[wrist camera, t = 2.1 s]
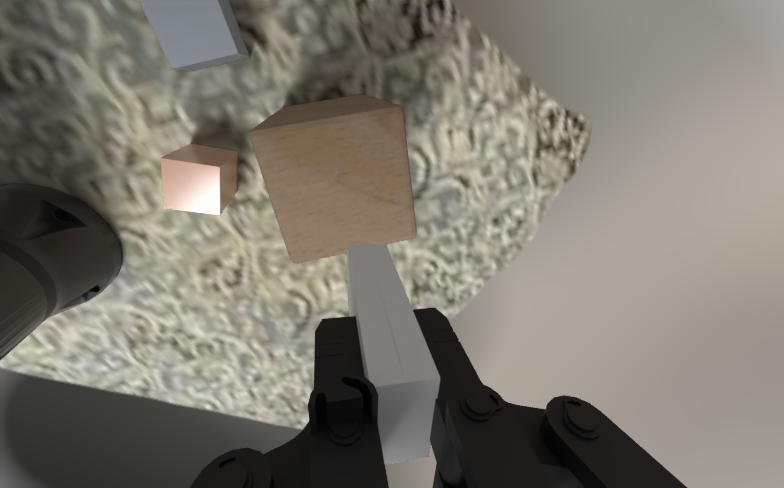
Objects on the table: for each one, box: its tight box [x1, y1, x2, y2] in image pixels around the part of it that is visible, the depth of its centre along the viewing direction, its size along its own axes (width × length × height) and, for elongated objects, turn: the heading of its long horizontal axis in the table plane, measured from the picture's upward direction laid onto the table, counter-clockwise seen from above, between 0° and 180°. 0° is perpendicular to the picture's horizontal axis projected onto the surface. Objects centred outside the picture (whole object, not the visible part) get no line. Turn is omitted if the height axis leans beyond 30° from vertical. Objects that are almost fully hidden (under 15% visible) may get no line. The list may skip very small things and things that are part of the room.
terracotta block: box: [161, 144, 238, 215], centre depth 35 cm, size 5×5×8 cm
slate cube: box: [139, 0, 250, 71], centre depth 31 cm, size 6×6×6 cm
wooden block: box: [250, 94, 417, 264], centre depth 32 cm, size 10×10×20 cm
